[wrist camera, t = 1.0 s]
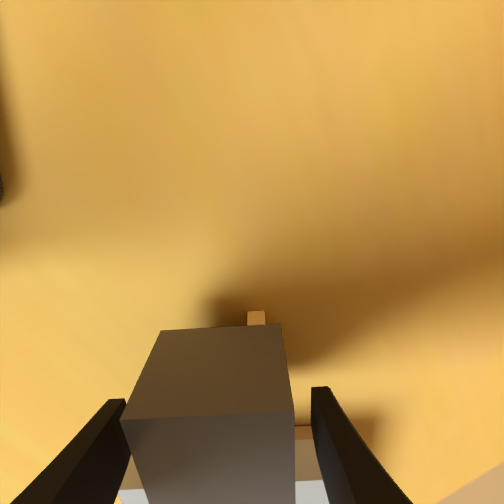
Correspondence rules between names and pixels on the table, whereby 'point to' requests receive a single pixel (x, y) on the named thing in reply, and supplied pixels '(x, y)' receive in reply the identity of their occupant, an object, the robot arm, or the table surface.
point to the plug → (214, 417)
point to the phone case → (0, 188)
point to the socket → (306, 475)
